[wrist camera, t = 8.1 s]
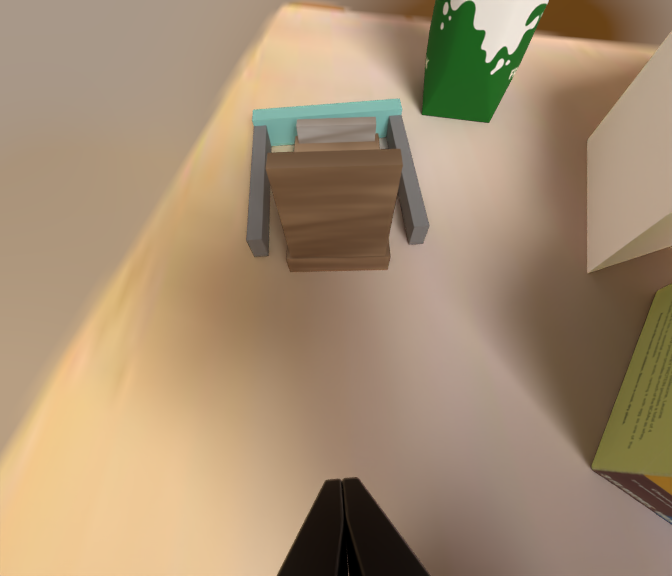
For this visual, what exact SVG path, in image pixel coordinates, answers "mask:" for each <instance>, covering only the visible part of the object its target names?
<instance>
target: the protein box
mask: <svg viewBox="0 0 672 576" xmlns="http://www.w3.org/2000/svg"><path fill="white" fill-rule="evenodd" d="M591 467H592V470H593V471H594V472H596V473H597V474H599V475H600V476H602V477H604V478H605V479H606V480H608V481H609V482H611V483H612V484H614V485H616V486H617V487H618V488H620V489H621V490H623V491H624V492H626V493H627V494H628V495H630V496H631V497H633V498H634V499H636V500H637V501H639V502H640V503H641V504H643V505H644V506H646V507H647V508H649V509H650V510H652V511H653V512H654V513H656V514H657V515H659V516H660V517H662V518H663V519H664V520H666V521H667V522H669V523H670V524H672V284H669V285H667V286H665V287H664V288H662V289H660V290H658V291H657V292H656V294H655V297H654V300H653V302H652V305H651V307H650V310H649V313H648V316H647V319H646V321H645V324H644V327H643V329H642V332H641V335H640V337H639V340H638V342H637V345H636V348H635V351H634V353H633V356H632V359H631V361H630V364H629V367H628V370H627V372H626V375H625V378H624V381H623V383H622V386H621V388H620V391H619V394H618V396H617V399H616V401H615V404H614V407H613V410H612V412H611V415H610V418H609V420H608V423H607V426H606V428H605V431H604V434H603V436H602V439H601V442H600V444H599V447H598V450H597V452H596V455H595V458H594V460H593V463H592V466H591Z"/></svg>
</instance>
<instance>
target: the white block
mask: <svg viewBox="0 0 672 576" xmlns="http://www.w3.org/2000/svg"><path fill="white" fill-rule="evenodd" d="M670 246H672V31H671V33H670V34H669V36H668V37H667V38H666V39H665V40H664V42H663V43H662V44H661V46H660V47H659V48H658V49H657V51H656V52H655V53H654V55H653V56H652V57H651V58H650V60H649V61H648V62H647V64H646V65H645V66H644V67H643V69H642V70H641V71H640V73H639V74H638V75H637V76H636V78H635V79H634V80H633V82H632V83H631V84H630V86H629V87H628V88H627V89H626V91H625V92H624V93H623V95H622V96H621V97H620V98H619V100H618V101H617V102H616V104H615V105H614V106H613V107H612V109H611V110H610V111H609V113H608V114H607V115H606V116H605V118H604V119H603V120H602V122H601V123H600V124H599V125H598V127H597V128H596V129H595V131H594V132H593V133H592V134H591V136H590V137H589V138H588V140H587V273H590V272H593V271H597V270H600V269H603V268H606V267H609V266H612V265H615V264H618V263H621V262H624V261H627V260H630V259H633V258H636V257H639V256H643V255H646V254H649V253H652V252H655V251H658V250H661V249H664V248H667V247H670Z"/></svg>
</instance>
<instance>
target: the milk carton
mask: <svg viewBox="0 0 672 576" xmlns="http://www.w3.org/2000/svg"><path fill="white" fill-rule="evenodd" d="M548 1H549V0H436V1H435V6H434V11H433V16H432V21H431V26H430V31H429V39H428V47H427V53H426V63H425V77H424V91H423V105H422V115H429V116H437V117H446V118H454V119H462V120H471V121H479V122H487V123H489V122H490V120H491V118H492V116H493V114H494V112H495V110H496V109H497V107H498V105H499V103H500V101H501V99H502V97H503V95H504V93H505V91H506V90H507V88H508V86H509V84H510V82H511V80H512V78H513V76H514V74H515V73H516V71H517V69H518V67H519V65H520V63H521V61H522V58H523V56H524V54H525V52H526V50H527V48H528V45H529V43H530V41H531V39H532V36H533V34H534V32H535V30H536V28H537V25H538V23H539V21H540V18H541V16H542V14H543V12H544V9H545V8H546V5H547V3H548Z"/></svg>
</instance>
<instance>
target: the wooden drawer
mask: <svg viewBox="0 0 672 576" xmlns="http://www.w3.org/2000/svg"><path fill="white" fill-rule="evenodd" d="M296 128H297V134H298V136H295V148H294V152H277V153H268V154H267V162H266V172H267V175H268V179H269V182H270V186H271V189H272V193H273V196H274V199H275V203H276V206H277V210H278V213H279V217H280V220H281V223H282V227H283V230H284V234H285V237H286V241H287V256H286V260H287V263H288V266H289V269H290V272H313V271H358V270H388V265H389V261H390V248H389V233H390V228H391V223H392V218H393V213H394V208H395V202H396V197H397V192H398V187H399V182H400V177H401V172H402V167H403V162H402V155H401V149H380V146H379V136H378V133H376V117H351V118H321V119H297V124H296Z"/></svg>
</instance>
